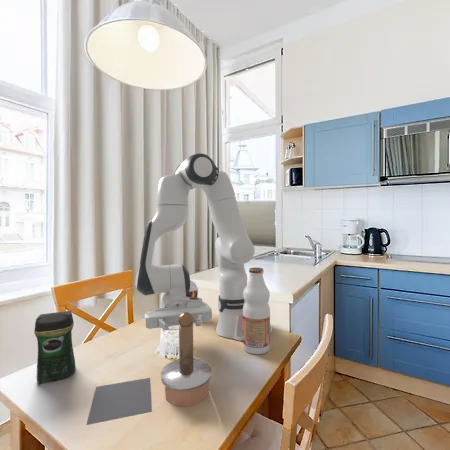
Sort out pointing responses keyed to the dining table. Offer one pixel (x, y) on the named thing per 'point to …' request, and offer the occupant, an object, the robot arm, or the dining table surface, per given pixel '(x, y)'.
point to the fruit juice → (256, 314)
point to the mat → (120, 400)
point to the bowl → (186, 395)
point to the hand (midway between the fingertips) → (182, 325)
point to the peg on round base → (186, 361)
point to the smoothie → (192, 290)
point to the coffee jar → (54, 346)
